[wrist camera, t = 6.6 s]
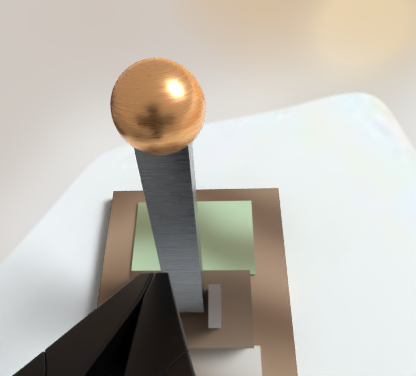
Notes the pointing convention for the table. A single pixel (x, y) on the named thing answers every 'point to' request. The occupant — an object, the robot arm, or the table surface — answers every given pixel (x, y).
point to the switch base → (260, 286)
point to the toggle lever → (166, 164)
